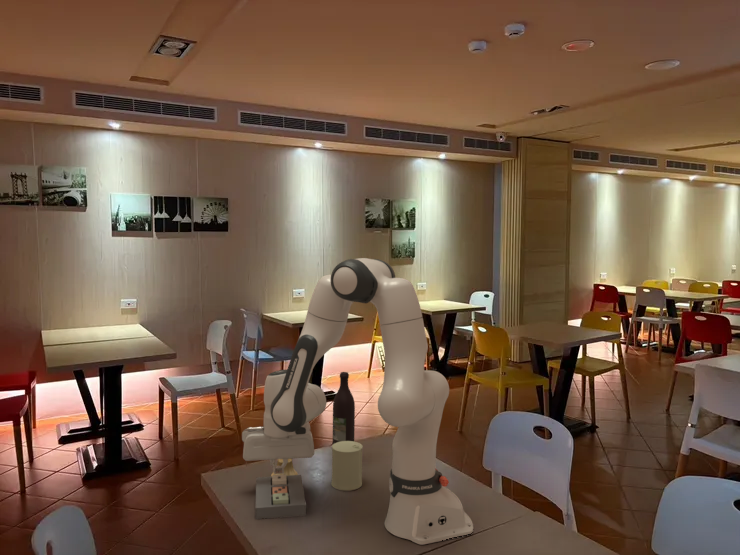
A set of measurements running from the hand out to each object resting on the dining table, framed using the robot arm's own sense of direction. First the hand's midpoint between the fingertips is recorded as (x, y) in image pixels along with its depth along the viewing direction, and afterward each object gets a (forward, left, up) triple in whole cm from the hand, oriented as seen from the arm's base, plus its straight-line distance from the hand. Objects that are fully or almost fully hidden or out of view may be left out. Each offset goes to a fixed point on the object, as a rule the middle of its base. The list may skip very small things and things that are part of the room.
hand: (278, 472), depth 163 cm
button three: (0, +6, -5) cm, 8 cm away
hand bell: (-2, -10, -6) cm, 12 cm away
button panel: (0, +6, -5) cm, 8 cm away
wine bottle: (-21, -17, -6) cm, 28 cm away
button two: (0, +12, -4) cm, 13 cm away
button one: (0, 0, -4) cm, 4 cm away
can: (-20, -2, -6) cm, 21 cm away
